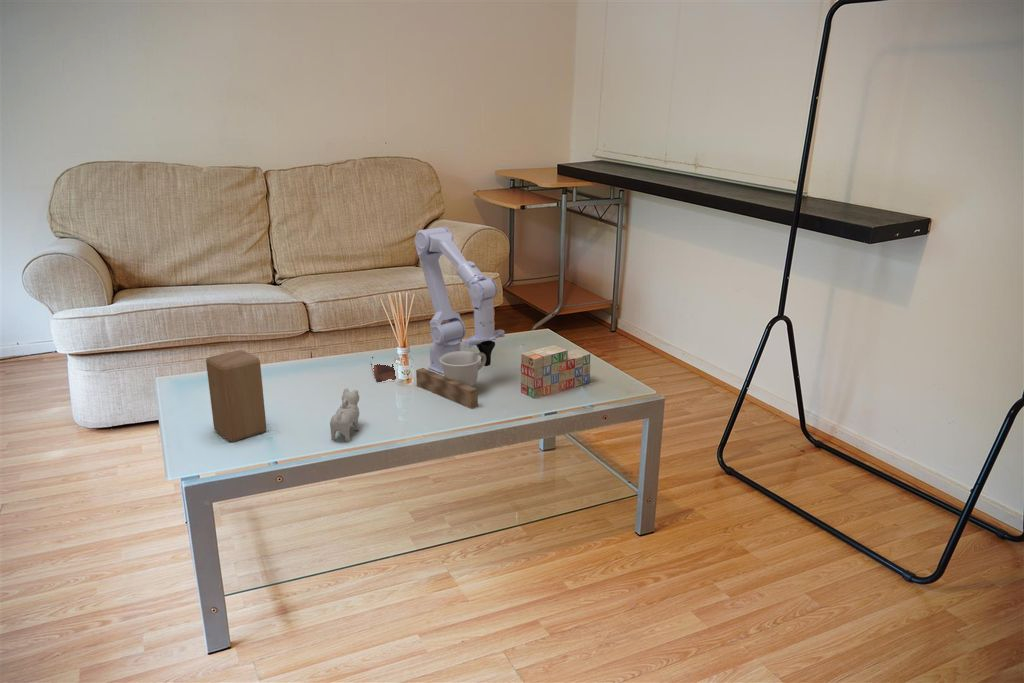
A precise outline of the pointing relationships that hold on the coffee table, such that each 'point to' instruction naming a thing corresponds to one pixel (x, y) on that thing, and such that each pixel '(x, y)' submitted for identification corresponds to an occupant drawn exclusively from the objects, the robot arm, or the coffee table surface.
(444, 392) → the walnut board
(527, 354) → the stack of blocks
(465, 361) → the teacup
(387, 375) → the wooden tablet
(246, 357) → the wooden block
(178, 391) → the coffee table surface
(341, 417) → the grey animal figure
